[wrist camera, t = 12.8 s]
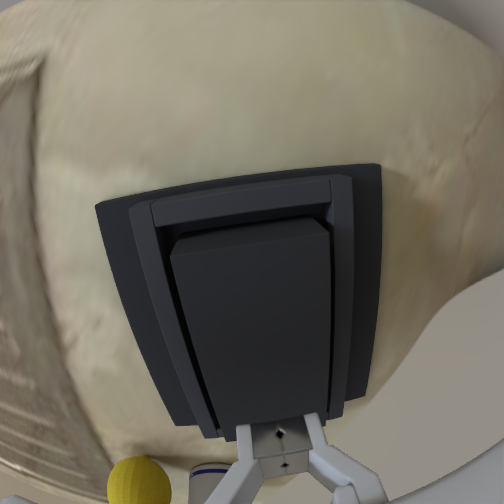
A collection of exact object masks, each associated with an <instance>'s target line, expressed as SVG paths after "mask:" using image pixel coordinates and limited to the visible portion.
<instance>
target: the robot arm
mask: <svg viewBox="0 0 504 504" xmlns="http://www.w3.org/2000/svg"><path fill="white" fill-rule="evenodd" d="M236 434H237V449H238V461H235V462H234V463H233V464H232V466H231V467H230V469H229V470H228V472H227V473H226V474H225V476H224V477H223V479H222V480H221V481H220V483H219V484H218V486H217V487H216V488H215V490H214V491H213V492H212V494H211V495H210V496H209V498H208V499H207V500H206V502H205V503H204V504H251V503H252V502H253V500H254V498H255V496H256V494H257V493H258V491H259V489H260V487H261V485H262V483H263V481H264V479H268V478H274V477H279V476H285V475H291V474H297V473H303V472H309V473H310V474H311V475H312V476H313V477H314V478H315V479H316V480H318V481H319V482H320V483H321V484H323V486H325V487H326V488H327V489H328V490H329V491H331V492H332V493H333V497H332V501H331V504H504V438H503V439H502V440H500V441H499V442H498V443H496V444H495V445H493V446H492V447H491V448H489V449H488V450H486V451H485V452H483V453H482V454H480V455H479V456H477V457H476V458H474V459H473V460H471V461H470V462H468V463H466V464H465V465H463V466H461V467H460V468H458V469H456V470H454V471H453V472H451V473H449V474H447V475H445V476H443V477H442V478H440V479H438V480H436V481H434V482H432V483H430V484H428V485H426V486H424V487H422V488H419V489H417V490H415V491H413V492H411V493H409V494H406V495H404V496H401V497H399V498H397V499H394V500H392V501H388V498H387V496H386V493H385V491H384V488H383V486H382V483H381V481H380V479H379V476H378V475H377V474H376V473H375V472H373V471H372V470H370V469H368V468H366V467H365V466H363V465H362V464H360V463H359V462H357V461H356V460H354V459H353V458H351V457H350V456H348V455H347V454H345V453H344V452H342V451H341V450H339V449H338V448H336V447H335V446H333V445H329V446H328V443H327V440H326V437H325V434H324V431H323V428H322V425H321V422H320V419H319V416H318V414H317V413H316V412H315V413H311V414H306V415H300V416H295V417H290V418H285V419H279V420H276V421H269V422H262V423H254V424H245V425H237V427H236ZM0 504H37V503H35V502H32V501H30V500H27V499H25V498H23V497H20V496H18V495H11V496H8V497H6V498H5V499H3V500H1V501H0Z"/></svg>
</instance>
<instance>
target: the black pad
mask: <svg viewBox="0 0 504 504" xmlns="http://www.w3.org/2000/svg"><path fill="white" fill-rule="evenodd" d="M170 259H171V264H172V268H173V272H174V276H175V280H176V284H177V288H178V292H179V296H180V300H181V303H182V307H183V311H184V314H185V318H186V322H187V325H188V329H189V332H190V336H191V339H192V342H193V346H194V349H195V352H196V356H197V359H198V362H199V365H200V369H201V372H202V375H203V378H204V381H205V384H206V387H207V390H208V393H209V396H210V399H211V402H212V405H213V407H214V410H215V413H216V416H217V419H218V421H219V424H220V427H221V430H222V432H223V435H224V438H225V440H226V442H231V441H237V434H236V427H237V425H245V424H254V423H262V422H269V421H276V420H279V419H285V418H290V417H295V416H300V415H306V414H311V413H315V412H316V413H317V414H318V416H319V419H320V422H321V425H322V427H323V426H325V424H326V412H327V399H328V383H329V364H330V334H331V263H330V233H329V232H328V231H327V230H326V229H325V228H324V227H322V226H321V225H320V224H319V223H318V222H317V221H316V220H314V219H313V218H312V217H311V216H310V215H300V216H293V217H285V218H278V219H270V220H263V221H256V222H249V223H242V224H235V225H229V226H222V227H215V228H209V229H202V230H196V231H190V232H183V233H181V234H180V236H179V238H178V240H177V242H176V244H175V246H174V248H173V251H172V253H171V255H170Z"/></svg>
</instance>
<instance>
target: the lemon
mask: <svg viewBox="0 0 504 504" xmlns="http://www.w3.org/2000/svg"><path fill="white" fill-rule="evenodd" d="M107 494H108V500H109V503H110V504H170V502H171V495H172V492H171V485H170V481H169V478H168V476H167V474H166V473H165V471H164V470H163V469H162V468H161V467H160V466H159V465H158V464H157V463H155V462H153V461H151V460H150V459H149V458H148V456H146V455H141V456H139V457H129V458H126V459H123V460H122V461H120V462H119V463H117V464H116V465H115V466H114V468H113V469H112V471H111V474H110V476H109V479H108V484H107Z"/></svg>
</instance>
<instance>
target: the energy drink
mask: <svg viewBox="0 0 504 504" xmlns="http://www.w3.org/2000/svg"><path fill="white" fill-rule="evenodd" d="M231 466H232V465H227V464H219V463H212V464H204V465H200V466H197V467H196V468H194V469H193V470H192V471H191V472H190V475H189V500H188V504H204V503H205V502H206V500H207V499H208V498H209V496H210V495H211V494H212V492H213V491H214V490H215V488H216V487H217V486H218V484H219V483H220V481H221V480H222V479H223V477H224V476H225V474H226V473H227V472H228V470H229V469H230V467H231Z"/></svg>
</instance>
